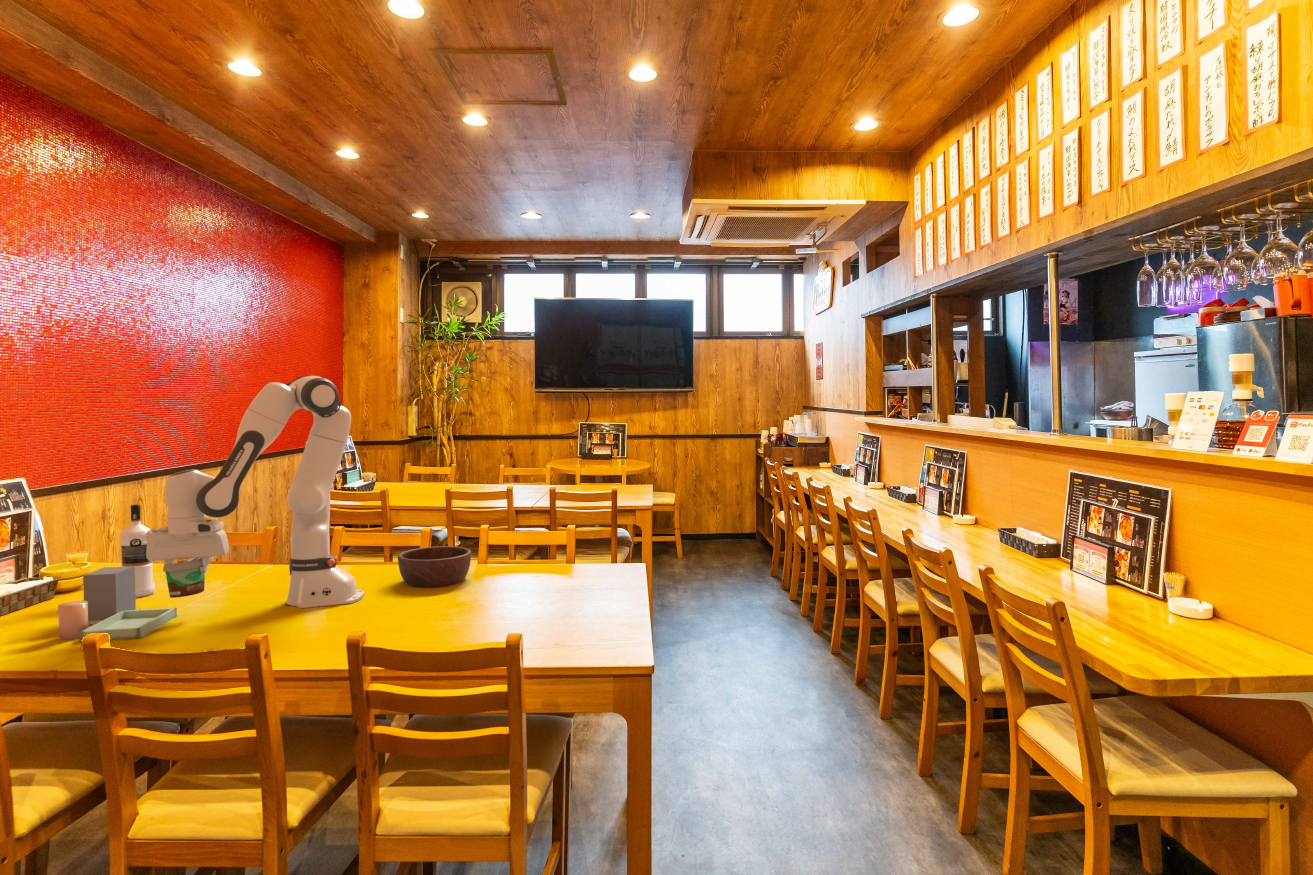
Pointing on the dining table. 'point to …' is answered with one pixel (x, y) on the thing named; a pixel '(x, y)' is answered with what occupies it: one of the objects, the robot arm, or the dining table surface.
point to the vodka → (137, 553)
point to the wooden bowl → (434, 566)
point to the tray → (131, 623)
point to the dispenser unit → (109, 592)
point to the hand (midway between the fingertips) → (189, 573)
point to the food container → (185, 577)
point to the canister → (72, 619)
